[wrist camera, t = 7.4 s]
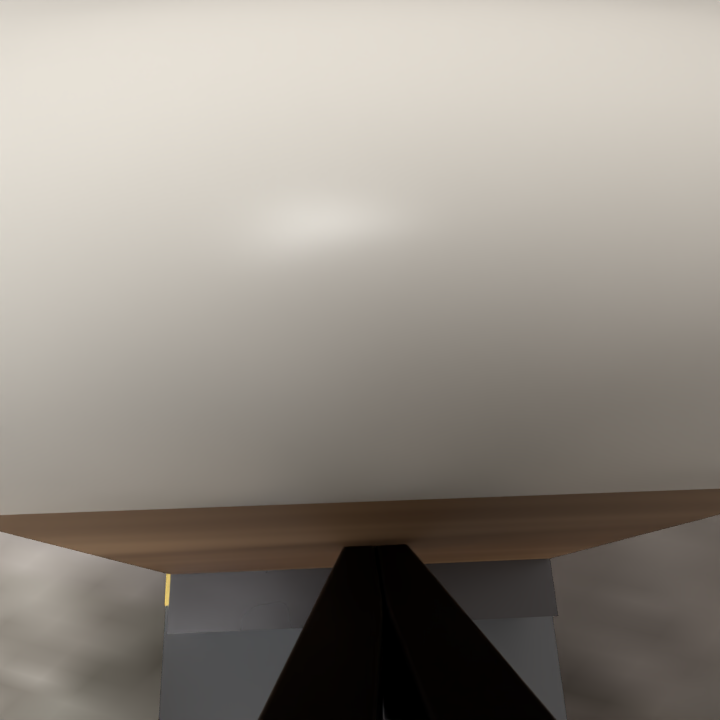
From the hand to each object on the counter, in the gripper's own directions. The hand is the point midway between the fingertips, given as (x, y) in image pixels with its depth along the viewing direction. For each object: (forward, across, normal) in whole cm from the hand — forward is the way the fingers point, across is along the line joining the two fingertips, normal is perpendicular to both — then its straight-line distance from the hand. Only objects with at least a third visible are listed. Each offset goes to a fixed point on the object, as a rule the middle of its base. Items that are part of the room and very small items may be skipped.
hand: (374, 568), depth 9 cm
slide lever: (+4, 0, +3) cm, 5 cm away
